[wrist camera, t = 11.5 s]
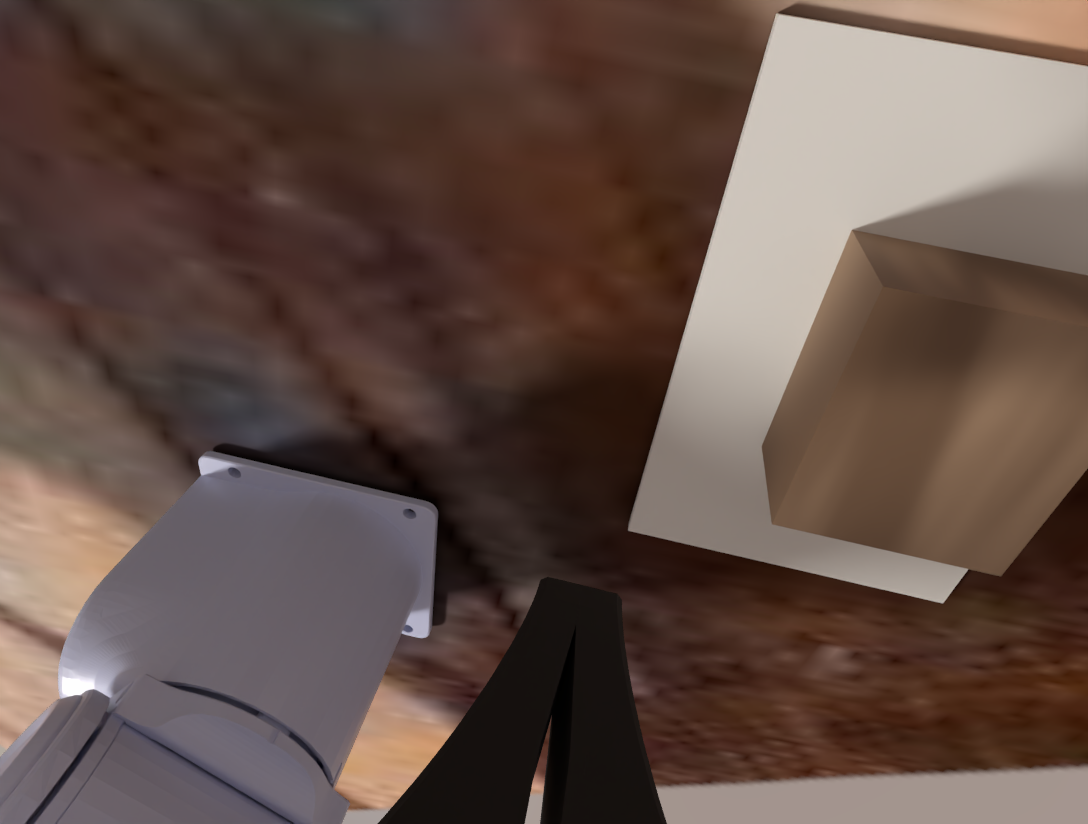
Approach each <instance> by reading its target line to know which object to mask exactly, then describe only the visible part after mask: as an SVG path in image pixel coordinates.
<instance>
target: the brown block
mask: <svg viewBox="0 0 1088 824" xmlns="http://www.w3.org/2000/svg"><path fill="white" fill-rule="evenodd" d="M762 453H763V461H764V468H765V476H766V484H767V492H768V499H769V507H770V515H771V522H772V524H773V525H777V526H781V527H786V528H790V529H795V530H799V531H803V532H808V533H812V534H817V535H821V536H825V537H830V538H834V539H839V540H843V541H847V542H852V543H856V544H860V545H865V546H869V547H874V548H878V549H882V550H887V551H891V552H896V553H900V554H904V555H909V556H913V557H918V558H922V559H926V560H931V561H935V562H939V563H944V564H948V565H953V566H957V567H961V568H966V569H970V570H975V571H979V572H983V573H988V574H992V575H997V576H1002V574H1003V573H1004V572H1005V571H1006V570H1007V568H1008V567H1009V566H1010V565H1011V563H1012V562H1013V561H1014V560H1015V558H1016V557H1017V556H1018V555H1019V553H1020V552H1021V551H1022V550H1023V548H1024V547H1025V546H1026V545H1027V543H1028V542H1029V541H1030V540H1031V538H1032V537H1033V536H1034V535H1035V533H1036V532H1037V531H1038V530H1039V528H1040V527H1041V526H1042V525H1043V523H1044V522H1045V521H1046V520H1047V518H1048V517H1049V516H1050V515H1051V513H1052V512H1053V511H1054V510H1055V508H1056V507H1057V506H1058V505H1059V503H1060V502H1061V501H1062V500H1063V498H1064V497H1065V496H1066V495H1067V493H1068V492H1069V491H1070V490H1071V488H1072V487H1073V486H1074V485H1075V483H1076V482H1077V481H1078V480H1079V478H1080V477H1081V476H1082V475H1083V473H1084V472H1085V471H1086V470H1087V469H1088V275H1083V274H1078V273H1073V272H1068V271H1063V270H1057V269H1052V268H1047V267H1042V266H1037V265H1031V264H1026V263H1021V262H1016V261H1011V260H1006V259H1000V258H995V257H990V256H985V255H980V254H975V253H969V252H964V251H959V250H954V249H949V248H944V247H938V246H933V245H928V244H923V243H918V242H913V241H907V240H902V239H897V238H892V237H887V236H882V235H876V234H871V233H866V232H861V231H856V230H851V233H850V235H849V237H848V240H847V242H846V245H845V247H844V250H843V252H842V254H841V257H840V259H839V262H838V264H837V266H836V269H835V271H834V274H833V276H832V278H831V281H830V283H829V286H828V288H827V290H826V293H825V295H824V298H823V300H822V302H821V305H820V307H819V310H818V312H817V314H816V317H815V319H814V322H813V324H812V326H811V329H810V331H809V334H808V336H807V338H806V341H805V343H804V346H803V348H802V350H801V353H800V355H799V358H798V360H797V362H796V365H795V367H794V370H793V372H792V374H791V377H790V379H789V382H788V384H787V386H786V389H785V391H784V394H783V396H782V398H781V401H780V403H779V406H778V408H777V410H776V413H775V415H774V418H773V420H772V422H771V425H770V427H769V430H768V432H767V435H766V437H765V439H764V442H763V444H762Z"/></svg>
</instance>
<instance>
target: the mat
mask: <svg viewBox="0 0 1088 824" xmlns="http://www.w3.org/2000/svg"><path fill="white" fill-rule="evenodd" d="M851 230H856V231H861V232H866V233H871V234H876V235H882V236H887V237H892V238H897V239H902V240H907V241H913V242H918V243H923V244H928V245H933V246H938V247H944V248H949V249H954V250H959V251H964V252H969V253H975V254H980V255H985V256H990V257H995V258H1000V259H1006V260H1011V261H1016V262H1021V263H1026V264H1031V265H1037V266H1042V267H1047V268H1052V269H1057V270H1063V271H1068V272H1073V273H1078V274H1083V275H1088V66H1087V65H1081V64H1075V63H1069V62H1063V61H1057V60H1051V59H1046V58H1040V57H1034V56H1028V55H1022V54H1016V53H1010V52H1004V51H998V50H992V49H986V48H980V47H975V46H969V45H963V44H957V43H951V42H945V41H939V40H933V39H927V38H921V37H915V36H909V35H904V34H898V33H892V32H886V31H880V30H874V29H868V28H862V27H856V26H850V25H844V24H838V23H833V22H827V21H821V20H815V19H809V18H803V17H797V16H791V15H785V14H779V13H776V16H775V20H774V23H773V27H772V30H771V34H770V37H769V41H768V44H767V47H766V51H765V54H764V58H763V61H762V65H761V68H760V72H759V75H758V79H757V82H756V85H755V89H754V92H753V96H752V99H751V103H750V106H749V110H748V113H747V116H746V120H745V123H744V127H743V130H742V134H741V137H740V141H739V144H738V148H737V151H736V154H735V158H734V161H733V165H732V168H731V172H730V175H729V179H728V182H727V186H726V189H725V192H724V196H723V199H722V203H721V206H720V210H719V213H718V217H717V220H716V223H715V227H714V230H713V234H712V237H711V241H710V244H709V248H708V251H707V255H706V258H705V261H704V265H703V268H702V272H701V275H700V279H699V282H698V286H697V289H696V293H695V296H694V299H693V303H692V306H691V310H690V313H689V317H688V320H687V324H686V327H685V331H684V334H683V337H682V341H681V344H680V348H679V351H678V355H677V358H676V362H675V365H674V368H673V372H672V375H671V379H670V382H669V386H668V389H667V393H666V396H665V400H664V403H663V406H662V410H661V413H660V417H659V420H658V424H657V427H656V431H655V434H654V438H653V441H652V444H651V448H650V451H649V455H648V458H647V462H646V465H645V469H644V472H643V475H642V479H641V482H640V486H639V489H638V493H637V496H636V500H635V503H634V507H633V510H632V513H631V517H630V520H629V525H628V531H632V532H636V533H640V534H645V535H649V536H653V537H658V538H662V539H666V540H671V541H675V542H679V543H684V544H688V545H692V546H697V547H701V548H705V549H710V550H714V551H718V552H723V553H727V554H731V555H736V556H740V557H744V558H749V559H753V560H757V561H762V562H766V563H770V564H775V565H779V566H783V567H788V568H792V569H796V570H800V571H805V572H809V573H813V574H818V575H822V576H826V577H831V578H835V579H839V580H844V581H848V582H852V583H857V584H861V585H865V586H870V587H874V588H878V589H883V590H887V591H891V592H896V593H900V594H904V595H909V596H913V597H917V598H922V599H926V600H930V601H935V602H939V603H944V601H945V600H946V599H947V597H948V596H949V595H950V593H951V592H952V591H953V589H954V588H955V587H956V585H957V584H958V583H959V581H960V580H961V579H962V577H963V576H964V575H965V573H966V572H967V571H968V569H966V568H961V567H957V566H953V565H948V564H944V563H939V562H935V561H931V560H926V559H922V558H918V557H913V556H909V555H904V554H900V553H896V552H891V551H887V550H882V549H878V548H874V547H869V546H865V545H860V544H856V543H852V542H847V541H843V540H839V539H834V538H830V537H825V536H821V535H817V534H812V533H808V532H803V531H799V530H795V529H790V528H786V527H781V526H777V525H773V524H772V522H771V515H770V507H769V499H768V492H767V484H766V476H765V468H764V461H763V453H762V444H763V442H764V439H765V437H766V435H767V432H768V430H769V427H770V425H771V422H772V420H773V418H774V415H775V413H776V410H777V408H778V406H779V403H780V401H781V398H782V396H783V394H784V391H785V389H786V386H787V384H788V382H789V379H790V377H791V374H792V372H793V370H794V367H795V365H796V362H797V360H798V358H799V355H800V353H801V350H802V348H803V346H804V343H805V341H806V338H807V336H808V334H809V331H810V329H811V326H812V324H813V322H814V319H815V317H816V314H817V312H818V310H819V307H820V305H821V302H822V300H823V298H824V295H825V293H826V290H827V288H828V286H829V283H830V281H831V278H832V276H833V274H834V271H835V269H836V266H837V264H838V262H839V259H840V257H841V254H842V252H843V250H844V247H845V245H846V242H847V240H848V237H849V235H850V233H851Z"/></svg>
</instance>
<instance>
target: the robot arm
mask: <svg viewBox="0 0 1088 824" xmlns="http://www.w3.org/2000/svg"><path fill="white" fill-rule="evenodd" d="M199 468H200V472H201V476H200V477H199V478H198V479H197V480H196V481H195V483H194V484H193V485H192V486H191V487H190V488H189V489H188V490H187V491H186V492H185V493H184V494H183V495H182V496H181V497H180V498H179V499H178V501H177V502H176V503H175V504H174V505H173V506H172V507H171V508H170V509H169V510H168V511H167V512H166V513H165V514H164V515H163V516H162V517H161V518H160V520H159V521H158V522H157V523H156V524H155V525H154V526H153V527H152V528H151V529H150V530H149V531H148V532H147V533H146V534H145V535H144V536H143V538H142V539H141V540H140V541H139V542H138V543H137V544H136V545H135V546H134V547H133V548H132V549H131V550H130V551H129V552H128V553H127V554H126V556H125V557H124V558H123V559H122V560H121V561H120V562H119V563H118V564H117V565H116V566H115V567H114V568H113V569H112V570H111V571H110V572H109V574H108V575H107V576H106V577H105V578H104V579H103V580H102V581H101V582H100V584H99V585H98V586H97V587H96V588H95V590H94V591H93V592H92V594H91V595H90V597H89V598H88V600H87V601H86V602H85V604H84V606H83V607H82V609H81V611H80V613H79V614H78V616H77V618H76V620H75V622H74V624H73V626H72V628H71V630H70V632H69V634H68V637H67V639H66V642H65V644H64V647H63V650H62V654H61V658H60V663H59V672H58V688H59V695H60V699H58V700H56V701H55V702H54V703H53V704H51V705H50V706H49V707H48V708H47V709H46V710H45V711H44V712H43V713H42V714H41V715H40V716H39V717H38V718H37V719H36V720H35V721H34V722H33V723H32V724H31V725H30V726H29V727H28V728H27V729H26V730H25V731H24V732H23V733H22V734H21V735H20V736H19V737H18V738H17V739H16V740H15V741H14V742H13V744H12V745H11V746H10V747H9V748H8V749H7V750H6V751H5V752H4V753H3V754H2V755H1V757H0V824H342V822H343V819H344V817H345V815H346V812H347V810H348V807H349V805H350V803H349V801H348V800H347V799H345V798H344V797H342V796H341V795H340V794H339V793H338V792H336V791H335V790H334V788H335V786H336V784H337V781H338V779H339V777H340V775H341V772H342V770H343V768H344V765H345V763H346V761H347V758H348V756H349V754H350V751H351V749H352V747H353V745H354V742H355V740H356V738H357V735H358V733H359V731H360V728H361V726H362V724H363V721H364V719H365V717H366V714H367V712H368V710H369V708H370V705H371V703H372V701H373V698H374V696H375V694H376V691H377V689H378V687H379V684H380V682H381V680H382V678H383V675H384V673H385V671H386V668H387V666H388V664H389V661H390V659H391V657H392V654H393V652H394V650H395V647H396V645H397V643H398V641H399V638H400V636H401V634H405V635H409V636H413V637H417V638H425V637H427V636H429V634H430V631H431V628H432V616H433V598H434V580H435V561H436V543H437V525H438V510H437V508H436V507H435V506H434V505H433V504H432V503H430V502H427V501H424V500H419V499H415V498H411V497H406V496H402V495H398V494H394V493H389V492H385V491H381V490H376V489H372V488H368V487H363V486H359V485H355V484H351V483H346V482H342V481H338V480H333V479H329V478H325V477H321V476H316V475H312V474H308V473H303V472H299V471H295V470H290V469H286V468H282V467H278V466H273V465H269V464H265V463H260V462H256V461H252V460H248V459H243V458H239V457H235V456H230V455H226V454H222V453H218V452H213V451H208V452H205V453H204V454H203V455H202V456H201V457H200V459H199ZM409 509H411V510H413V511H414V512H412V511H410V510H409ZM551 715H552V719H551ZM550 719H551V728H550V738H549V747H548V756H547V765H546V775H545V784H544V793H543V803H542V813H541V822H540V824H667V823H666V820H665V817H664V813H663V810H662V807H661V804H660V800H659V797H658V793H657V790H656V787H655V783H654V780H653V776H652V772H651V768H650V765H649V761H648V757H647V754H646V750H645V746H644V742H643V738H642V733H641V729H640V725H639V720H638V715H637V711H636V706H635V701H634V697H633V692H632V687H631V681H630V676H629V670H628V663H627V657H626V650H625V642H624V634H623V622H622V600H621V598H620V597H619V596H618V594H616V593H612V592H608V591H604V590H600V589H595V588H591V587H587V586H583V585H579V584H575V583H571V582H567V581H563V580H558V579H554V578H550V577H547V578H544V579H542V580H541V581H540V584H539V587H538V590H537V593H536V595H535V598H534V600H533V602H532V605H531V607H530V609H529V611H528V614H527V616H526V618H525V620H524V622H523V624H522V625H521V627H520V629H519V631H518V633H517V635H516V637H515V638H514V640H513V642H512V644H511V646H510V647H509V649H508V650H507V652H506V654H505V655H504V657H503V659H502V660H501V662H500V664H499V665H498V667H497V669H496V670H495V672H494V673H493V675H492V677H491V678H490V680H489V681H488V683H487V684H486V686H485V688H484V689H483V690H482V692H481V693H480V695H479V696H478V698H477V699H476V700H475V702H474V703H473V705H472V706H471V708H470V709H469V711H468V712H467V713H466V715H465V716H464V718H463V719H462V721H461V722H460V723H459V725H458V726H457V728H456V729H455V730H454V732H453V733H452V734H451V736H450V737H449V738H448V740H447V741H446V742H445V744H444V745H443V746H442V747H441V749H440V750H439V751H438V753H437V754H436V755H435V756H434V758H433V759H432V760H431V761H430V763H429V764H428V765H427V766H426V768H425V769H424V770H423V771H422V773H421V774H420V775H419V776H418V778H417V779H416V780H415V781H414V782H413V784H412V785H411V786H410V787H409V788H408V789H407V791H406V792H405V793H404V794H403V795H402V796H401V797H400V799H399V800H398V801H397V802H396V803H395V804H394V806H393V807H392V808H391V809H390V810H389V811H388V813H387V814H386V815H385V816H384V817H383V818H382V819H381V821H380V822H379V823H378V824H524V823H525V818H526V813H527V808H528V802H529V797H530V792H531V787H532V781H533V778H534V774H535V771H536V767H537V764H538V760H539V757H540V754H541V750H542V747H543V743H544V740H545V736H546V733H547V729H548V726H549V722H550Z"/></svg>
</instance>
